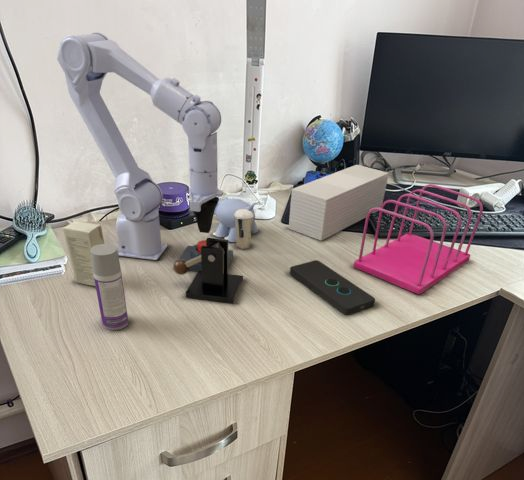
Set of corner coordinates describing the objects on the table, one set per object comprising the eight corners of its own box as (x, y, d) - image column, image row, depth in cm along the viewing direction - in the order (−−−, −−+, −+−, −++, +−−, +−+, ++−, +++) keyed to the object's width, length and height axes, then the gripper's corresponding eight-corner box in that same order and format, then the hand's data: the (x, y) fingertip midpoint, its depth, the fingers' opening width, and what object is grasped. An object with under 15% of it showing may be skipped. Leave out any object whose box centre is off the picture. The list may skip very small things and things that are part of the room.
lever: (176, 279, 101) (168, 266, 99) (181, 272, 103) (173, 259, 102) (222, 259, 96) (214, 245, 95) (226, 252, 99) (218, 239, 97)
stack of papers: (321, 240, 125) (326, 199, 118) (288, 228, 130) (291, 188, 123) (381, 209, 145) (388, 172, 138) (351, 200, 150) (356, 164, 143)
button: (195, 253, 109) (195, 245, 108) (199, 246, 111) (199, 239, 110) (211, 254, 108) (211, 247, 107) (215, 248, 111) (215, 241, 110)
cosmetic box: (111, 279, 104) (103, 224, 96) (99, 288, 100) (90, 232, 93) (86, 273, 105) (75, 219, 98) (73, 282, 102) (61, 227, 94)
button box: (176, 268, 109) (175, 254, 107) (188, 251, 116) (187, 238, 114) (224, 274, 108) (224, 260, 105) (233, 257, 115) (233, 243, 113)
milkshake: (253, 251, 118) (254, 211, 112) (231, 248, 118) (232, 209, 112) (257, 244, 121) (258, 205, 115) (236, 241, 122) (236, 202, 116)
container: (104, 316, 92) (91, 243, 83) (130, 316, 93) (119, 243, 84) (100, 330, 88) (86, 255, 79) (126, 330, 89) (115, 255, 80)
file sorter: (469, 261, 119) (490, 198, 110) (418, 296, 104) (438, 226, 95) (406, 238, 128) (421, 179, 119) (352, 267, 113) (364, 201, 104)
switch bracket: (185, 297, 99) (183, 251, 93) (198, 275, 107) (197, 231, 101) (233, 303, 98) (234, 257, 92) (243, 280, 106) (244, 236, 100)
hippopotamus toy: (224, 218, 134) (225, 183, 128) (266, 234, 126) (269, 198, 121) (196, 228, 127) (195, 192, 121) (239, 246, 119) (240, 209, 114)
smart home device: (346, 308, 95) (288, 266, 108) (345, 316, 96) (287, 273, 109) (377, 298, 99) (317, 259, 112) (375, 305, 100) (316, 265, 113)
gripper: (213, 181, 93) (214, 247, 101) (230, 160, 104) (229, 221, 112) (178, 178, 93) (181, 243, 102) (198, 157, 105) (200, 217, 113)
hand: (204, 231), depth 107 cm, fingers closed
